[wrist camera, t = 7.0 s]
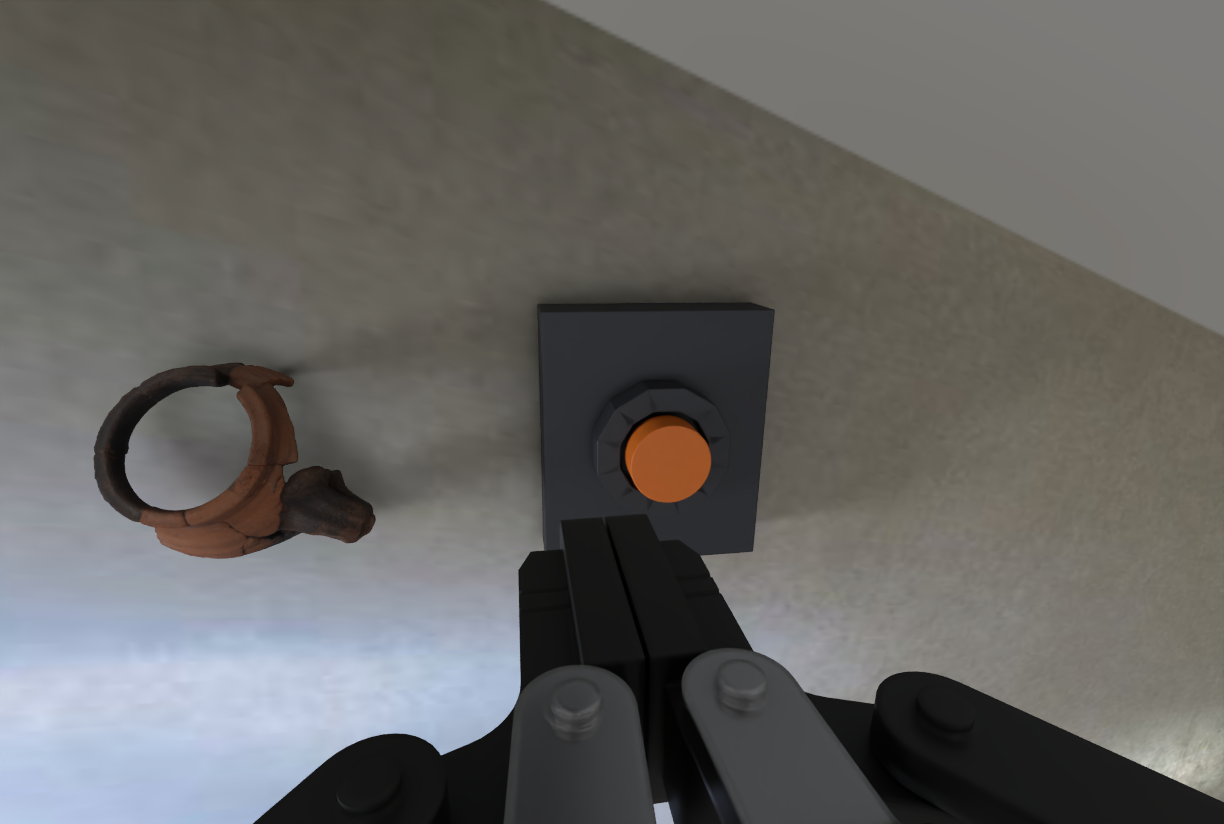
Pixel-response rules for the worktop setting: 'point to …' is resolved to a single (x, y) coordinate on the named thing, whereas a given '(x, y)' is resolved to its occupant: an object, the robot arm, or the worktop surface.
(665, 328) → the push button base
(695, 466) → the power button
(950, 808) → the robot arm
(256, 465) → the broken clay vessel
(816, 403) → the worktop surface
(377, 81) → the worktop surface
